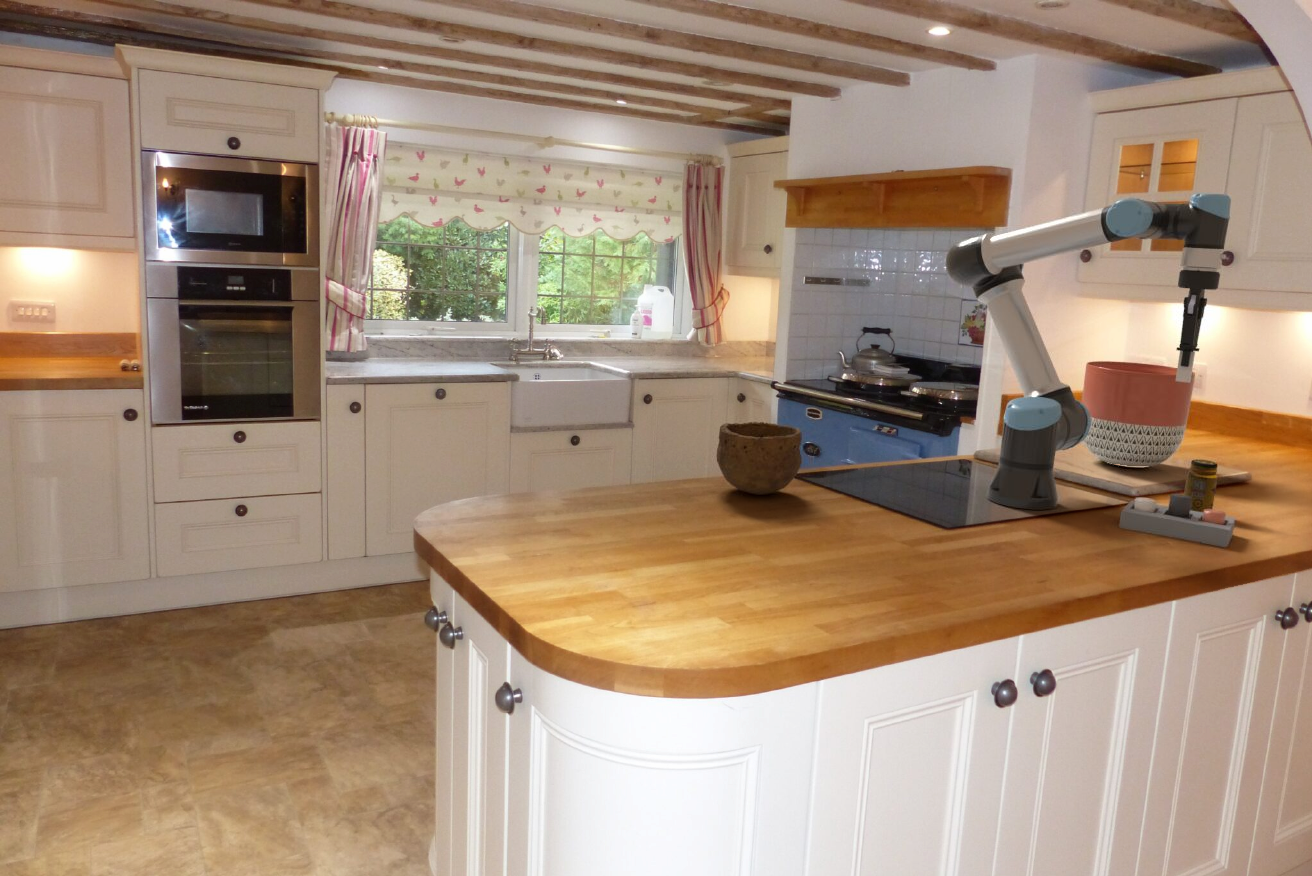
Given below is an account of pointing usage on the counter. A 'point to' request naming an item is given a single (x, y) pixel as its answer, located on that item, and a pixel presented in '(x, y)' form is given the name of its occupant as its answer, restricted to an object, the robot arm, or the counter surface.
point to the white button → (1145, 504)
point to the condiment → (1201, 484)
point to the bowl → (759, 455)
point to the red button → (1214, 516)
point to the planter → (1135, 411)
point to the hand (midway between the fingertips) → (1182, 381)
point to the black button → (1179, 505)
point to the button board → (1177, 525)
